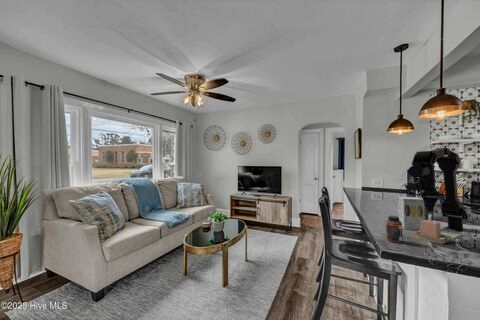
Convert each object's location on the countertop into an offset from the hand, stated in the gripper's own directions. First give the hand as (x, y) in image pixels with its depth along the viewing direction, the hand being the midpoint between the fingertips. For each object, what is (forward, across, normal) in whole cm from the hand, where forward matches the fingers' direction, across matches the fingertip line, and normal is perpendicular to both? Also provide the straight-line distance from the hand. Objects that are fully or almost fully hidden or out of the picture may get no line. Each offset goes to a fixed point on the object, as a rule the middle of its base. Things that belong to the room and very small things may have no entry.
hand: (428, 209), depth 97 cm
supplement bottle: (+14, +14, -13) cm, 24 cm away
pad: (+14, -11, +6) cm, 19 cm away
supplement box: (+14, -16, -6) cm, 22 cm away
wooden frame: (+14, 0, 0) cm, 14 cm away
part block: (+14, 0, 0) cm, 14 cm away
